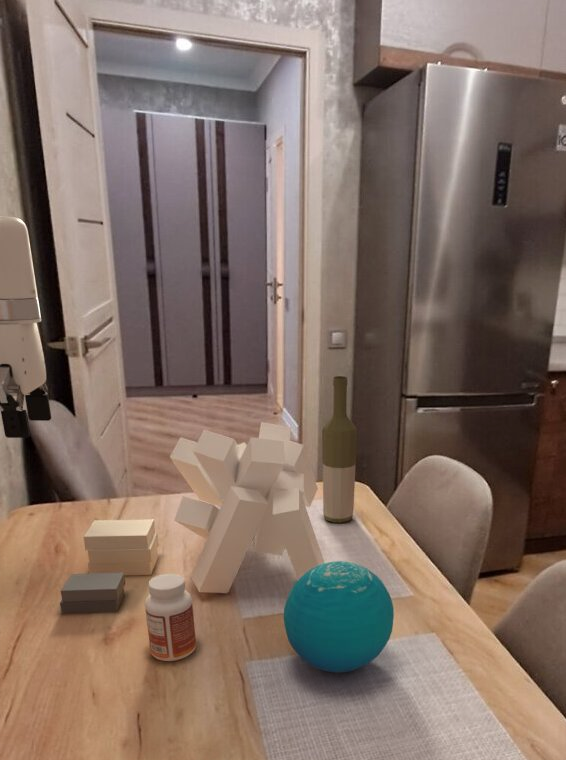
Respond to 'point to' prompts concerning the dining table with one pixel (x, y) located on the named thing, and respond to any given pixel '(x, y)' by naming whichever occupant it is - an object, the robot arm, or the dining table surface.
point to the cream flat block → (119, 534)
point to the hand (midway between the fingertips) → (29, 428)
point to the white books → (124, 560)
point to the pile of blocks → (247, 502)
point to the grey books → (92, 593)
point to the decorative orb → (338, 616)
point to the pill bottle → (170, 618)
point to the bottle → (339, 458)
